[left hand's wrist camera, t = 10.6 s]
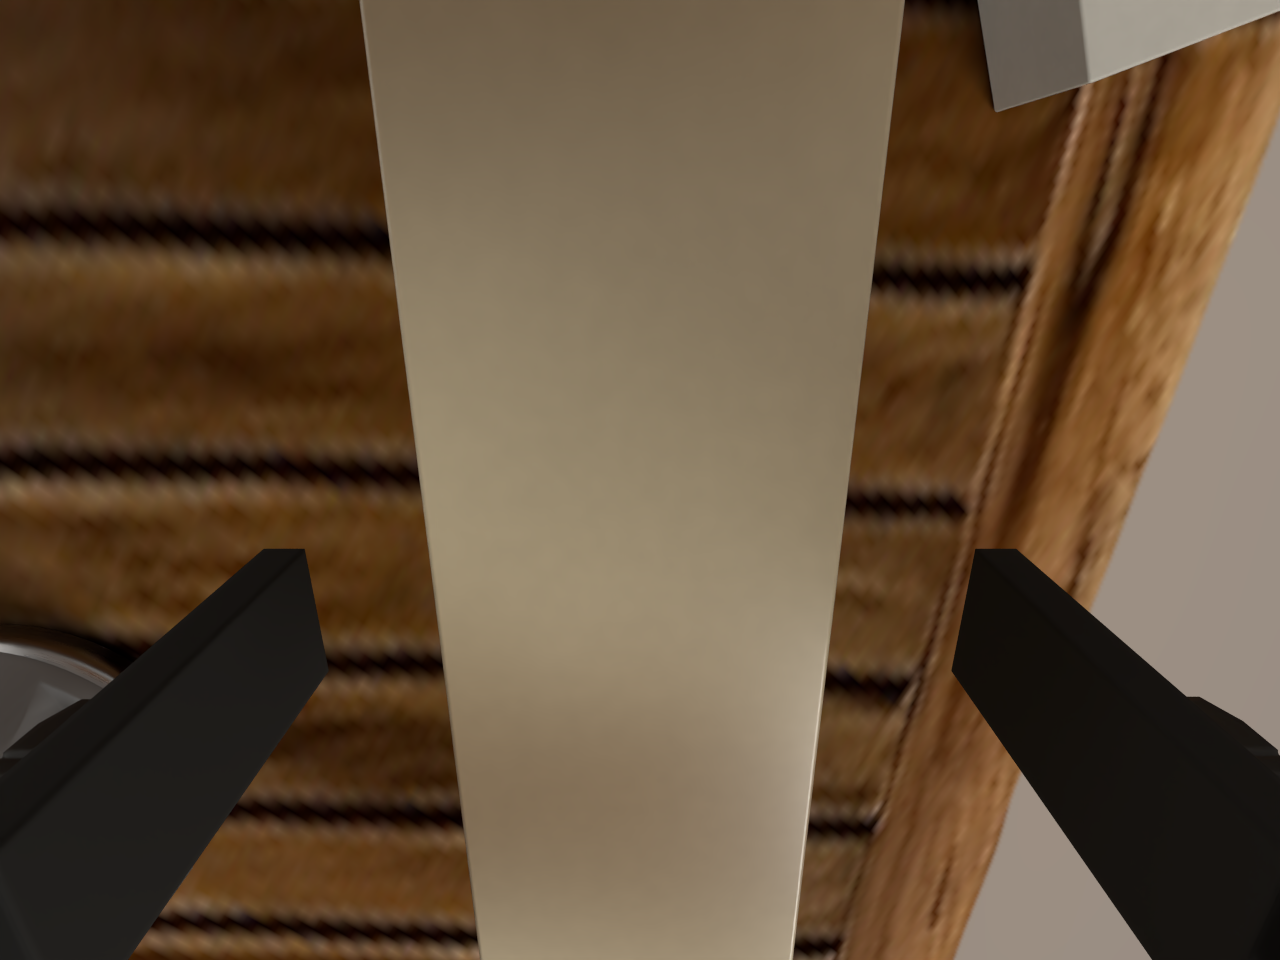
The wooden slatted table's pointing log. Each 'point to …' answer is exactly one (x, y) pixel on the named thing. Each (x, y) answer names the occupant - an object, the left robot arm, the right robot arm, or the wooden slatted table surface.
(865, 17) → the ash bar
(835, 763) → the wooden slatted table surface
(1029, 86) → the grey block
